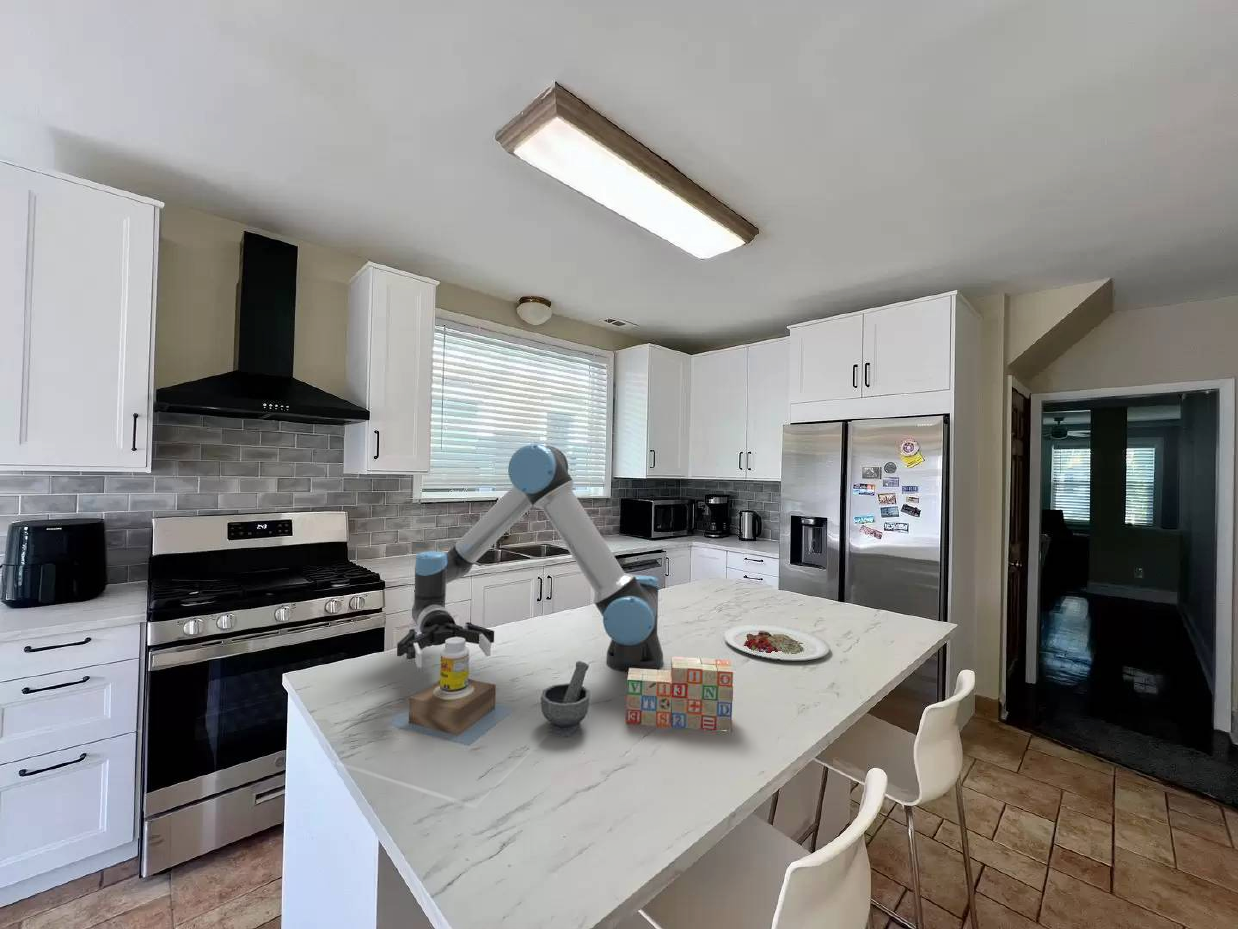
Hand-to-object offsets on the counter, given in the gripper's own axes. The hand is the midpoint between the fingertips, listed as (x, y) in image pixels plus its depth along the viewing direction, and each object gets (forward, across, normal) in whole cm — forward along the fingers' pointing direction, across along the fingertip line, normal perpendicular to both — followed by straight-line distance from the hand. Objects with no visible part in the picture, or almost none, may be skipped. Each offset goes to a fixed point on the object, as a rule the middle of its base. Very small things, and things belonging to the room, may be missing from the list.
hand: (455, 655), depth 105 cm
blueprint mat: (-1, 0, -13) cm, 13 cm away
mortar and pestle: (+13, -19, -13) cm, 27 cm away
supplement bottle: (-1, 0, -8) cm, 8 cm away
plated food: (-4, -94, -14) cm, 95 cm away
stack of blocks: (+20, -41, -14) cm, 48 cm away
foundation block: (-1, 0, -13) cm, 13 cm away
